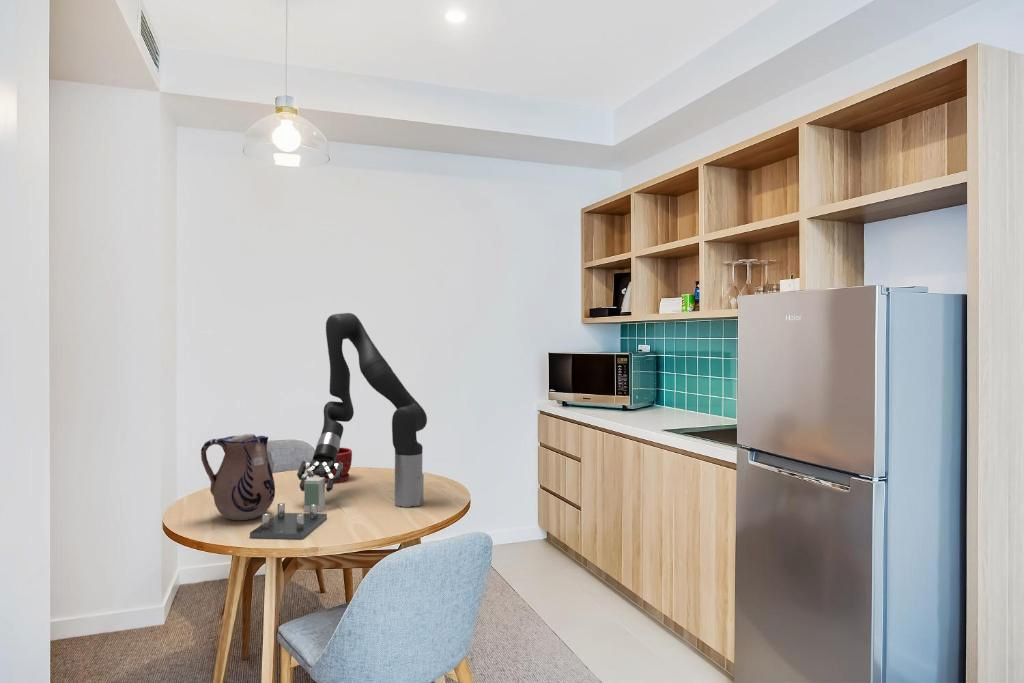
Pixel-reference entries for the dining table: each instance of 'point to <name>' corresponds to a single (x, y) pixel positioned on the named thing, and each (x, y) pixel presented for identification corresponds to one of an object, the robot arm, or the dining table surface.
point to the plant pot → (345, 458)
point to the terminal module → (314, 493)
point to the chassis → (288, 524)
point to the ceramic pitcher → (241, 477)
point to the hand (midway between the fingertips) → (314, 490)
